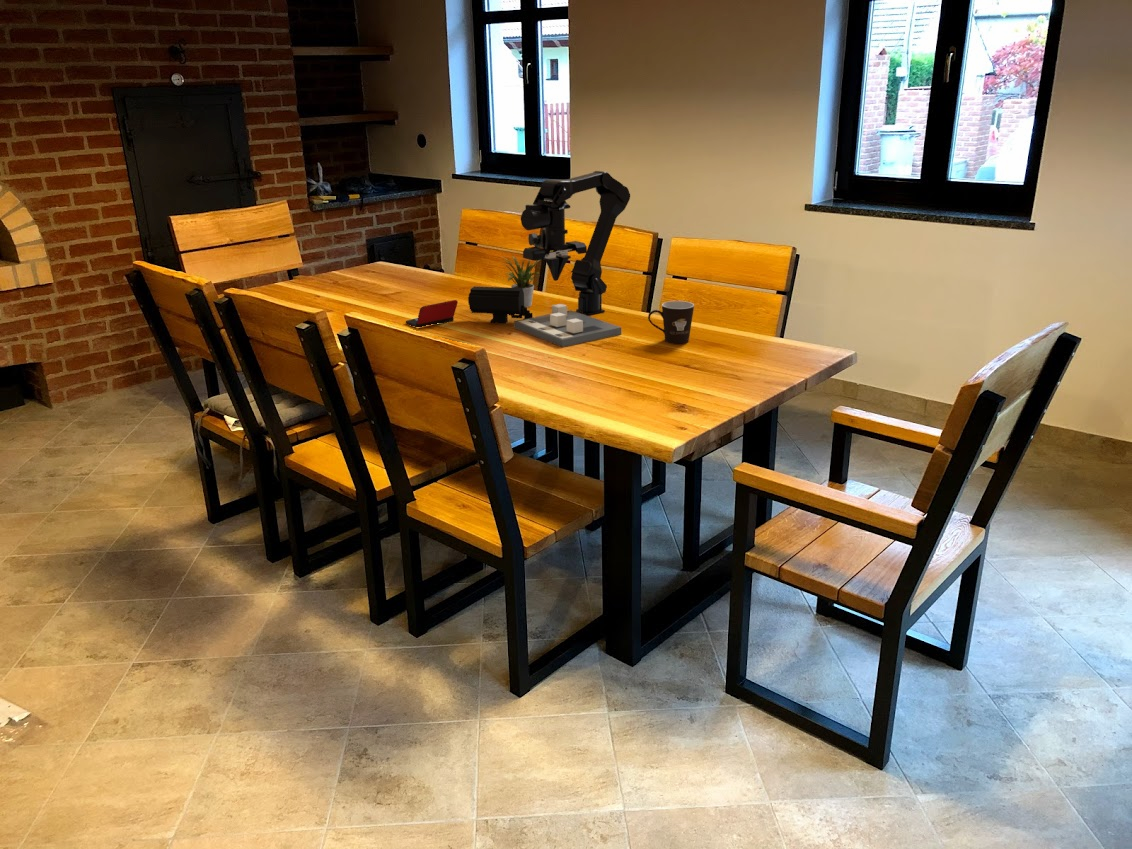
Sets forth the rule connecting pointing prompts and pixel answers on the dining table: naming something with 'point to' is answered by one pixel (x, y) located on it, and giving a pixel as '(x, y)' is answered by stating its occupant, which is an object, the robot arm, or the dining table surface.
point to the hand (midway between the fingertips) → (555, 280)
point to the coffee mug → (675, 321)
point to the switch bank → (560, 335)
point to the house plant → (523, 280)
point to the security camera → (498, 303)
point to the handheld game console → (435, 314)
